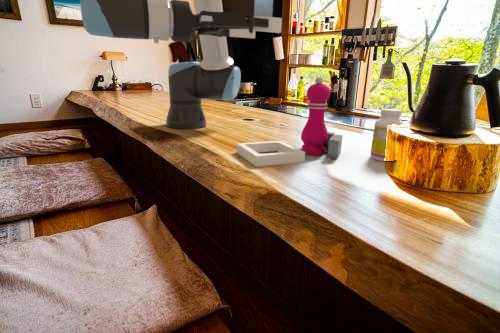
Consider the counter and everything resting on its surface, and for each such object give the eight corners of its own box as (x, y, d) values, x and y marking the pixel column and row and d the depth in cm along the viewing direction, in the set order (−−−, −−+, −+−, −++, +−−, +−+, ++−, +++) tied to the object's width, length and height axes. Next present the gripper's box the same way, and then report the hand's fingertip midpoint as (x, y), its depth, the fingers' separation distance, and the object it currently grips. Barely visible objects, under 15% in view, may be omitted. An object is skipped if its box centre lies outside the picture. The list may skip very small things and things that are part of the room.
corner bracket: (300, 147, 89) (301, 130, 88) (321, 145, 92) (323, 129, 91) (331, 160, 76) (333, 141, 75) (354, 158, 79) (356, 139, 78)
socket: (236, 152, 81) (236, 143, 80) (279, 149, 86) (280, 140, 85) (255, 166, 70) (256, 156, 69) (304, 161, 74) (305, 152, 74)
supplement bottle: (376, 154, 84) (383, 107, 80) (401, 159, 80) (410, 110, 76) (365, 158, 79) (372, 109, 76) (391, 164, 75) (400, 111, 71)
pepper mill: (326, 157, 79) (334, 77, 73) (298, 154, 81) (304, 76, 75) (326, 150, 86) (334, 77, 80) (300, 148, 87) (306, 76, 81)
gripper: (163, 45, 72) (245, 49, 80) (182, 35, 50) (293, 43, 58) (161, 10, 70) (246, 18, 78) (180, -16, 48) (296, -1, 56)
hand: (266, 29), depth 68 cm, fingers open, 13 cm apart
